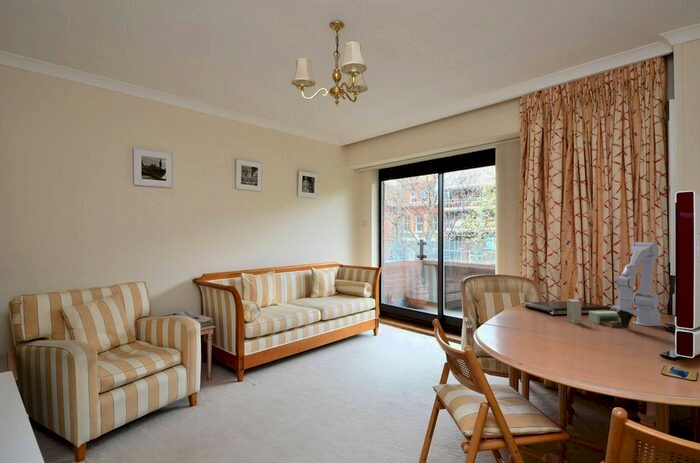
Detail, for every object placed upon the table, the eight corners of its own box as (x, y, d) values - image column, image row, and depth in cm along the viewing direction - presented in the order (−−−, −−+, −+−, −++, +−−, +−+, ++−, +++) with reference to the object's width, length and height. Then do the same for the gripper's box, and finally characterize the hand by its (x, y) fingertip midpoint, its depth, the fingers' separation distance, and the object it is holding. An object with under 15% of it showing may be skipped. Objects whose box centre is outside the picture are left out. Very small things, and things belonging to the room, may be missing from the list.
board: (609, 321, 198) (609, 316, 198) (627, 327, 186) (627, 321, 186) (594, 321, 197) (594, 316, 197) (611, 327, 185) (611, 322, 185)
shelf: (612, 320, 199) (612, 310, 199) (621, 323, 193) (621, 313, 193) (588, 321, 198) (588, 311, 198) (596, 323, 192) (596, 313, 192)
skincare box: (581, 323, 192) (581, 301, 192) (573, 323, 192) (573, 301, 192) (574, 320, 199) (574, 299, 199) (566, 320, 199) (566, 299, 199)
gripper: (606, 297, 189) (606, 322, 189) (629, 302, 175) (629, 330, 175) (619, 296, 190) (619, 322, 190) (643, 302, 175) (643, 329, 175)
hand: (625, 326), depth 182 cm, fingers closed
